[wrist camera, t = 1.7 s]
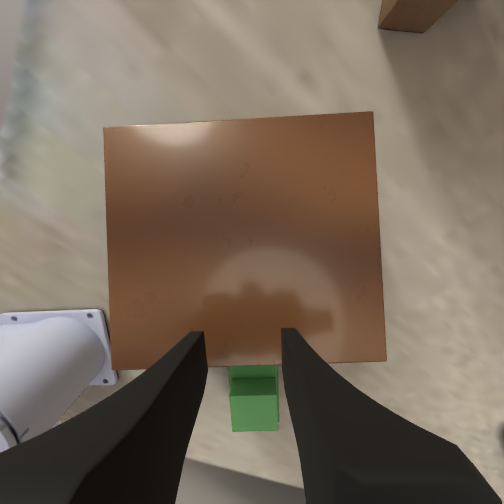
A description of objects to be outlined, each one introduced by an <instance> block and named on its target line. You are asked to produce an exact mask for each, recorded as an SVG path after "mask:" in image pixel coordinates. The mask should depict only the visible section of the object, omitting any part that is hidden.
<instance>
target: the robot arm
mask: <svg viewBox="0 0 504 504" xmlns="http://www.w3.org/2000/svg"><path fill="white" fill-rule="evenodd" d="M90 314H92V315H93V316H91V315H90ZM0 325H1V326H0V504H175V501H176V496H177V491H178V486H179V482H180V477H181V472H182V468H183V462H184V459H185V455H186V451H187V447H188V444H189V441H190V437H191V434H192V431H193V428H194V424H195V421H196V418H197V414H198V411H199V408H200V404H201V401H202V398H203V394H204V390H205V385H206V379H207V373H208V364H207V355H206V346H205V337H204V331H190V332H189V333H188V334H187V335H186V336H185V337H184V338H183V339H181V340H180V341H179V342H178V343H177V344H176V345H175V346H174V347H173V348H172V349H171V350H169V351H168V352H167V353H166V354H165V355H164V356H163V357H162V358H160V359H159V360H158V361H157V362H156V363H154V364H153V365H152V366H151V367H149V368H148V369H147V370H146V371H145V372H143V373H142V374H141V375H139V376H138V377H137V378H135V379H134V380H133V381H131V382H130V383H128V384H127V385H126V386H124V387H123V388H121V389H120V390H118V391H117V392H115V393H114V394H112V395H111V396H109V397H107V398H106V399H104V400H102V401H101V402H99V403H97V404H96V405H94V406H92V407H91V408H89V409H87V410H86V411H84V412H82V413H80V414H79V415H77V416H75V417H73V418H71V419H69V420H68V421H66V422H64V423H62V424H60V425H58V426H56V427H54V428H52V427H53V426H54V424H55V423H56V422H57V421H58V420H59V419H60V417H61V416H62V415H63V414H64V413H65V412H66V411H67V409H68V408H69V407H70V406H71V405H72V404H73V402H74V401H75V400H76V399H77V398H78V397H79V396H80V394H81V393H82V392H83V391H84V390H85V389H86V387H87V386H100V385H114V384H115V383H116V382H117V380H118V378H117V373H116V370H111V346H110V342H109V337H108V333H107V328H106V323H105V319H104V314H103V312H102V311H101V310H99V309H84V310H59V311H34V312H9V313H3V314H1V315H0ZM281 348H282V372H283V380H284V388H285V393H286V398H287V402H288V406H289V411H290V415H291V420H292V424H293V428H294V433H295V437H296V441H297V446H298V451H299V456H300V463H301V469H302V476H303V483H304V490H305V497H306V504H502V501H501V499H500V497H499V496H498V495H497V494H496V492H495V491H494V490H493V489H492V487H491V486H490V485H489V484H488V482H487V481H486V480H485V478H484V477H483V476H482V475H481V473H480V472H479V471H478V469H477V468H476V467H475V466H474V464H473V463H472V462H471V461H470V460H469V459H468V458H467V457H466V455H465V454H464V453H463V452H462V451H461V450H460V449H459V447H458V446H457V445H455V444H453V443H451V442H449V441H447V440H445V439H443V438H441V437H439V436H437V435H435V434H433V433H431V432H429V431H427V430H425V429H423V428H421V427H419V426H417V425H415V424H413V423H411V422H409V421H408V420H406V419H404V418H402V417H401V416H399V415H397V414H395V413H394V412H392V411H390V410H389V409H387V408H385V407H384V406H382V405H381V404H379V403H377V402H376V401H374V400H373V399H371V398H370V397H368V396H367V395H366V394H364V393H363V392H361V391H360V390H358V389H357V388H356V387H354V386H353V385H352V384H350V383H349V382H348V381H347V380H345V379H344V378H343V377H342V376H340V375H339V374H338V373H337V372H336V371H335V370H333V369H332V368H331V367H330V366H329V365H328V364H327V363H326V362H325V361H324V360H323V359H322V358H321V357H320V356H319V355H318V354H317V353H316V352H315V351H314V349H313V348H312V347H311V346H310V345H309V344H308V343H307V342H306V340H305V339H304V338H303V337H302V335H301V334H300V333H299V332H298V330H297V329H296V328H295V327H294V328H281ZM106 379H107V380H106ZM51 428H52V429H51Z"/></svg>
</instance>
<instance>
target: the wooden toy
mask: <svg viewBox="0 0 504 504" xmlns="http://www.w3.org/2000/svg"><path fill="white" fill-rule="evenodd" d="M457 1H458V0H383V1H382V7H381V13H380V18H379V24H378V28H385V29H394V30H404V31H414V32H425V31H426V30H427V29H428V28H429V27H430V26H431V25H432V24H433V23H434V22H435V21H437V20H438V19H439V18H440V17H441V16H442V15H443V14H444V13H445V12H446V11H447V10H448V9H449V8H450V7H451V6H452V5H453V4H454V3H456V2H457Z"/></svg>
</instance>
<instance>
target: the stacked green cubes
mask: <svg viewBox="0 0 504 504" xmlns="http://www.w3.org/2000/svg"><path fill="white" fill-rule="evenodd" d="M228 369H229V381H230V396H229V397H230V409H231V420H232V431H233V432H240V431H277V430H278V422H279V403H278V368H277V365H260V366H230V367H228Z"/></svg>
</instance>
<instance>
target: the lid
mask: <svg viewBox="0 0 504 504" xmlns="http://www.w3.org/2000/svg"><path fill="white" fill-rule="evenodd" d="M103 133H104V162H105V192H106V222H107V251H108V281H109V310H110V340H111V370H139V369H148V368H149V367H151V366H152V365H153V364H154V363H156V362H157V361H158V360H159V359H160V358H162V357H163V356H164V355H165V354H166V353H167V352H168V351H169V350H171V349H172V348H173V347H174V346H175V345H176V344H177V343H178V342H179V341H180V340H181V339H183V338H184V337H185V336H186V335H187V334H188V333H189V332H190V331H204V337H205V346H206V355H207V364H208V367H230V366H260V365H282V348H281V328H294V327H295V328H296V329H297V330H298V332H299V333H300V334H301V335H302V337H303V338H304V339H305V340H306V342H307V343H308V344H309V345H310V346H311V347H312V348H313V349H314V351H315V352H316V353H317V354H318V355H319V356H320V357H321V358H322V359H323V360H324V361H325V362H326V363H350V362H380V361H387V356H386V337H385V319H384V301H383V283H382V264H381V246H380V228H379V210H378V192H377V173H376V155H375V137H374V119H373V112H372V111H371V112H354V113H337V114H320V115H304V116H287V117H270V118H253V119H237V120H220V121H203V122H186V123H170V124H153V125H136V126H119V127H104V128H103Z"/></svg>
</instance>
